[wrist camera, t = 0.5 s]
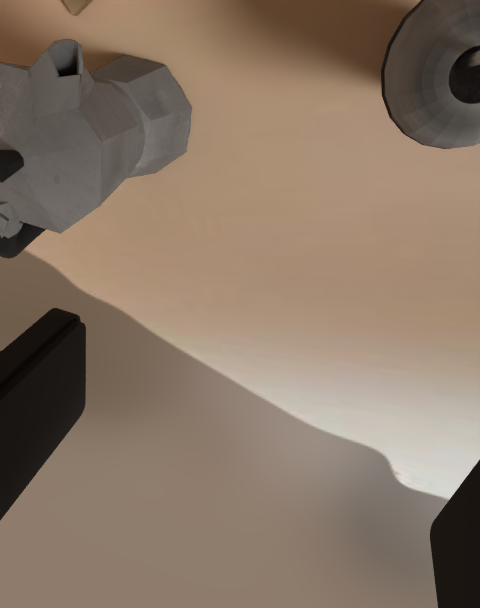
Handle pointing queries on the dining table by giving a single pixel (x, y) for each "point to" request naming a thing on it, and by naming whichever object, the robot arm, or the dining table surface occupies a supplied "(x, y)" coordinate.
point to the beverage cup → (435, 74)
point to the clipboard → (76, 5)
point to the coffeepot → (80, 136)
